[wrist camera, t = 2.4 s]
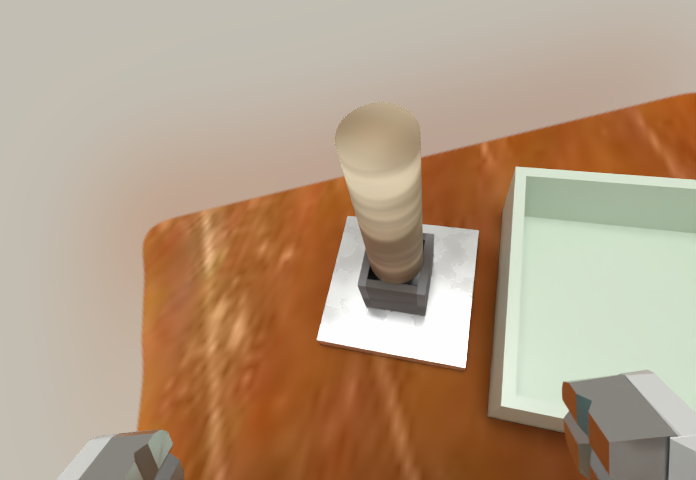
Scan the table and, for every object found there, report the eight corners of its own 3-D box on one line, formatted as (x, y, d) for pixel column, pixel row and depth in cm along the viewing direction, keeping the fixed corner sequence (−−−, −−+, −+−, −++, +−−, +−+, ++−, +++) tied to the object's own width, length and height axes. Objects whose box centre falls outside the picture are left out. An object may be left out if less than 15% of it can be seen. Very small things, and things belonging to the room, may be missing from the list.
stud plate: (463, 371, 34) (470, 354, 29) (320, 344, 37) (302, 324, 32) (477, 238, 39) (484, 203, 34) (350, 223, 42) (339, 189, 37)
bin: (775, 477, 28) (873, 481, 22) (487, 416, 32) (501, 405, 26) (730, 234, 35) (794, 187, 29) (502, 212, 40) (515, 166, 34)
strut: (425, 316, 35) (422, 183, 18) (365, 306, 36) (312, 173, 20) (433, 261, 37) (437, 96, 20) (376, 253, 38) (337, 93, 22)
